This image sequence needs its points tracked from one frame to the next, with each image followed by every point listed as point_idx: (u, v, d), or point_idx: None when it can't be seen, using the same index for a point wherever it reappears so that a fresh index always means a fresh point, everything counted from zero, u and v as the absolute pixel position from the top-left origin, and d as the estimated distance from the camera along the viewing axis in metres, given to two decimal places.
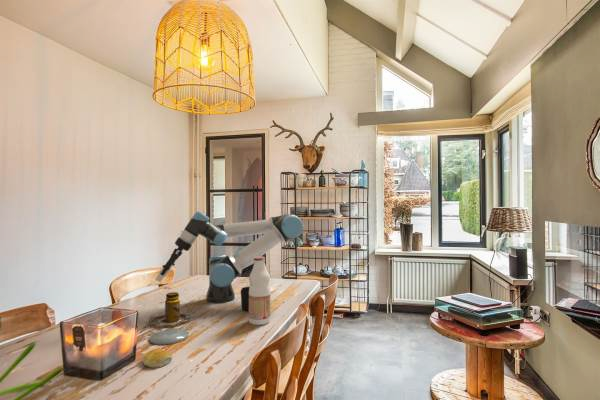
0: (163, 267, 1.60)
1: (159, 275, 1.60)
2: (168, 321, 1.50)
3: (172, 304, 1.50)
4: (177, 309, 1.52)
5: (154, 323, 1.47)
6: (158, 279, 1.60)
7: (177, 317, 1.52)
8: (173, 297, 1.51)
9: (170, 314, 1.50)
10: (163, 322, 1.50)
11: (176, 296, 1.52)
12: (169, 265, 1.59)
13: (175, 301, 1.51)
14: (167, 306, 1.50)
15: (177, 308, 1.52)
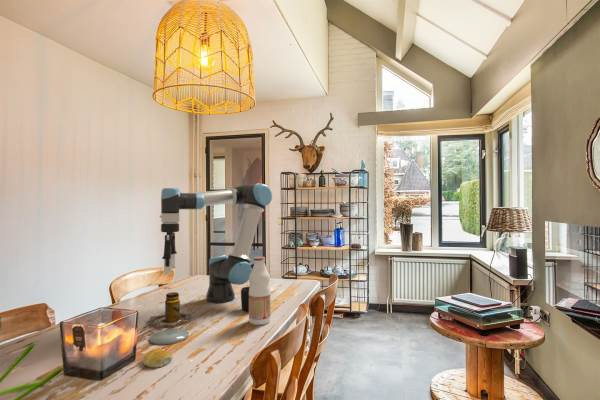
0: (164, 259, 1.46)
1: (165, 268, 1.46)
2: (168, 321, 1.50)
3: (172, 304, 1.50)
4: (177, 309, 1.52)
5: (154, 323, 1.47)
6: (167, 272, 1.46)
7: (177, 317, 1.52)
8: (173, 297, 1.51)
9: (170, 314, 1.50)
10: (163, 322, 1.50)
11: (176, 296, 1.52)
12: (168, 253, 1.44)
13: (175, 301, 1.51)
14: (167, 306, 1.50)
15: (177, 308, 1.52)
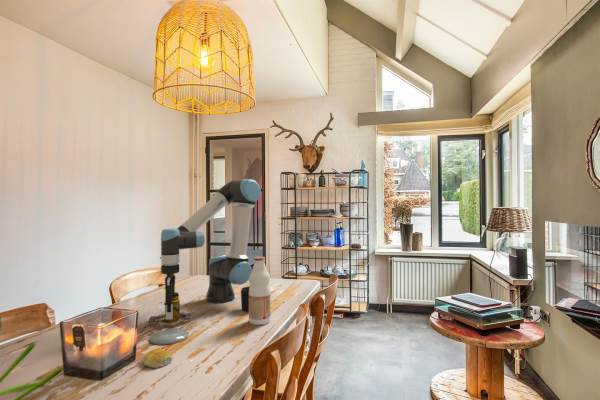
0: (166, 304, 1.49)
1: (167, 313, 1.49)
2: (168, 321, 1.50)
3: None
4: (177, 309, 1.52)
5: (154, 323, 1.47)
6: (169, 317, 1.49)
7: (177, 317, 1.52)
8: (173, 297, 1.51)
9: None
10: (163, 322, 1.50)
11: (176, 296, 1.52)
12: (169, 300, 1.46)
13: (175, 301, 1.51)
14: None
15: (177, 308, 1.52)
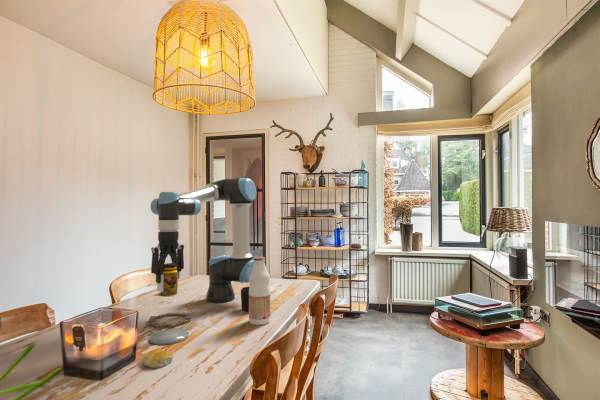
0: None
1: (158, 284, 1.34)
2: (161, 293, 1.35)
3: None
4: (169, 282, 1.34)
5: (154, 323, 1.47)
6: (159, 289, 1.34)
7: (169, 291, 1.34)
8: (164, 267, 1.34)
9: None
10: (159, 294, 1.37)
11: (168, 267, 1.34)
12: (154, 269, 1.31)
13: (167, 272, 1.34)
14: None
15: (169, 281, 1.34)
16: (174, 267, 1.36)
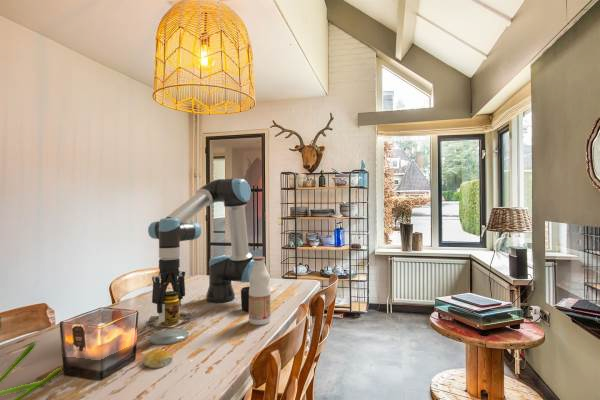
0: None
1: (159, 314, 1.31)
2: (162, 323, 1.32)
3: None
4: (170, 311, 1.30)
5: (154, 323, 1.47)
6: (160, 319, 1.30)
7: (171, 321, 1.30)
8: (166, 297, 1.31)
9: None
10: (160, 323, 1.34)
11: (170, 296, 1.31)
12: (155, 299, 1.28)
13: (168, 302, 1.30)
14: None
15: (170, 310, 1.30)
16: (175, 296, 1.32)
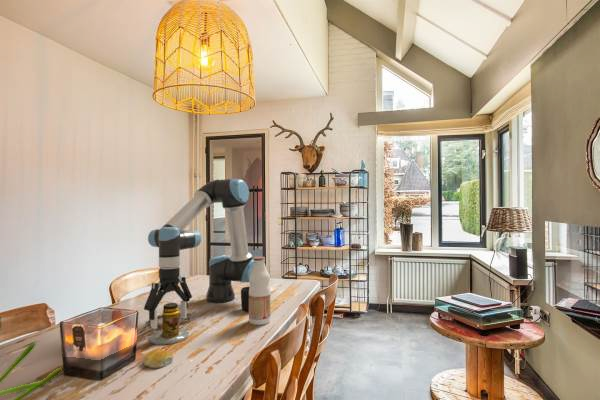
0: None
1: (151, 321, 1.28)
2: (162, 335, 1.32)
3: (164, 317, 1.31)
4: (170, 324, 1.30)
5: None
6: (152, 326, 1.28)
7: (171, 333, 1.30)
8: (166, 309, 1.31)
9: (163, 328, 1.31)
10: (161, 335, 1.34)
11: (170, 309, 1.31)
12: (148, 305, 1.25)
13: (168, 314, 1.30)
14: (162, 318, 1.32)
15: (170, 323, 1.30)
16: (175, 308, 1.32)
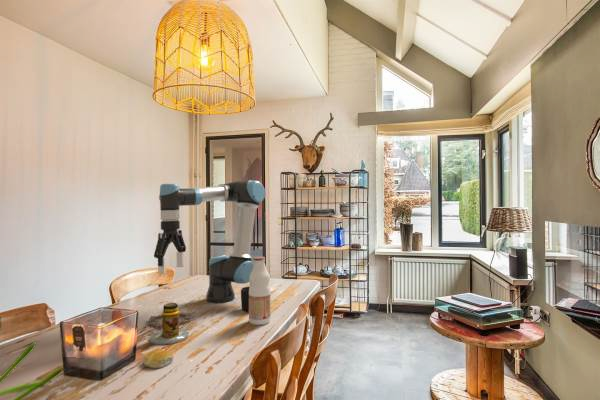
0: (158, 258, 1.40)
1: (159, 267, 1.40)
2: (162, 335, 1.32)
3: (164, 317, 1.31)
4: (170, 324, 1.30)
5: (154, 323, 1.47)
6: (161, 272, 1.40)
7: (171, 333, 1.30)
8: (166, 309, 1.31)
9: (163, 328, 1.31)
10: (161, 335, 1.34)
11: (170, 309, 1.31)
12: (158, 252, 1.37)
13: (168, 314, 1.30)
14: (162, 318, 1.32)
15: (170, 323, 1.30)
16: (175, 308, 1.32)
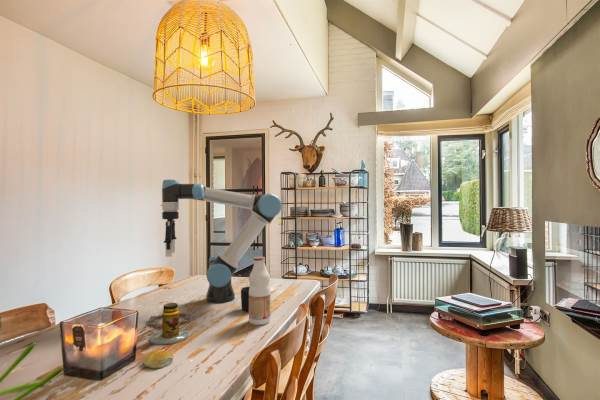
0: (165, 242, 1.63)
1: (167, 251, 1.63)
2: (162, 335, 1.32)
3: (164, 317, 1.31)
4: (170, 324, 1.30)
5: (154, 323, 1.47)
6: (168, 254, 1.63)
7: (171, 333, 1.30)
8: (166, 309, 1.31)
9: (163, 328, 1.31)
10: (161, 335, 1.34)
11: (170, 309, 1.31)
12: (169, 237, 1.61)
13: (168, 314, 1.30)
14: (162, 318, 1.32)
15: (170, 323, 1.30)
16: (175, 308, 1.32)
